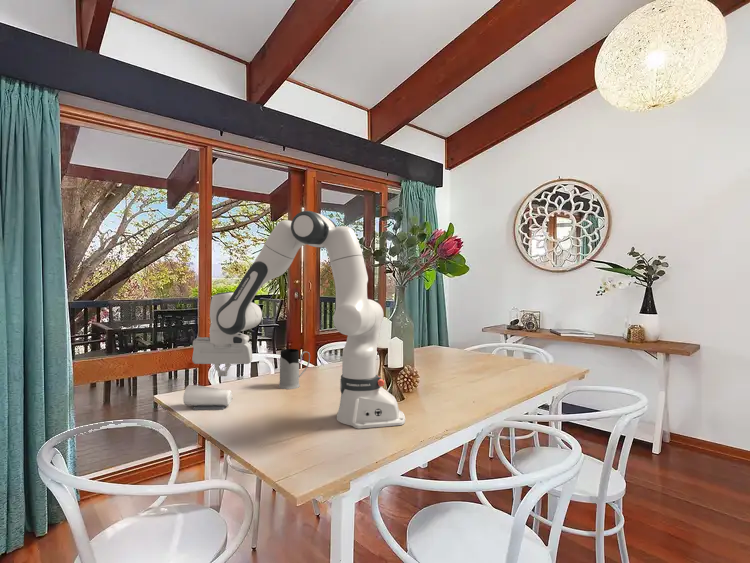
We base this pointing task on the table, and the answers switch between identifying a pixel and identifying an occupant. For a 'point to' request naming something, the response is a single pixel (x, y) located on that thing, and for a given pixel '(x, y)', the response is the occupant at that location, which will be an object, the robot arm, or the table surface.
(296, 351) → the grey mug
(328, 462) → the table surface
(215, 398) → the drinking glass
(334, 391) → the table surface
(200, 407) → the mat
